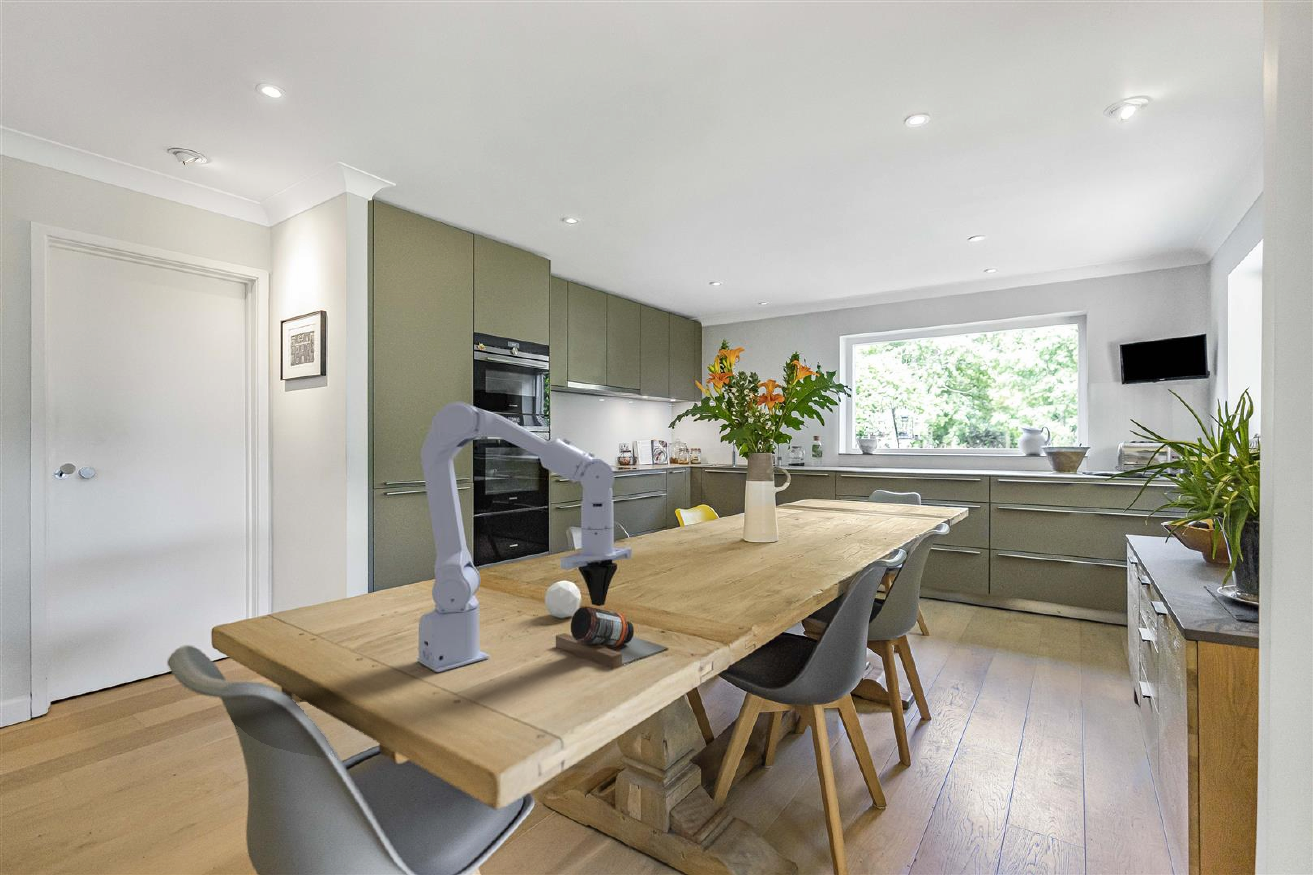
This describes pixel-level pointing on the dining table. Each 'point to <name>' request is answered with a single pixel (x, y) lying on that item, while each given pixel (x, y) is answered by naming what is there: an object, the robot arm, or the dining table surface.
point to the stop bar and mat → (609, 650)
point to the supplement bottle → (601, 627)
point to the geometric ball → (562, 599)
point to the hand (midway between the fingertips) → (598, 604)
